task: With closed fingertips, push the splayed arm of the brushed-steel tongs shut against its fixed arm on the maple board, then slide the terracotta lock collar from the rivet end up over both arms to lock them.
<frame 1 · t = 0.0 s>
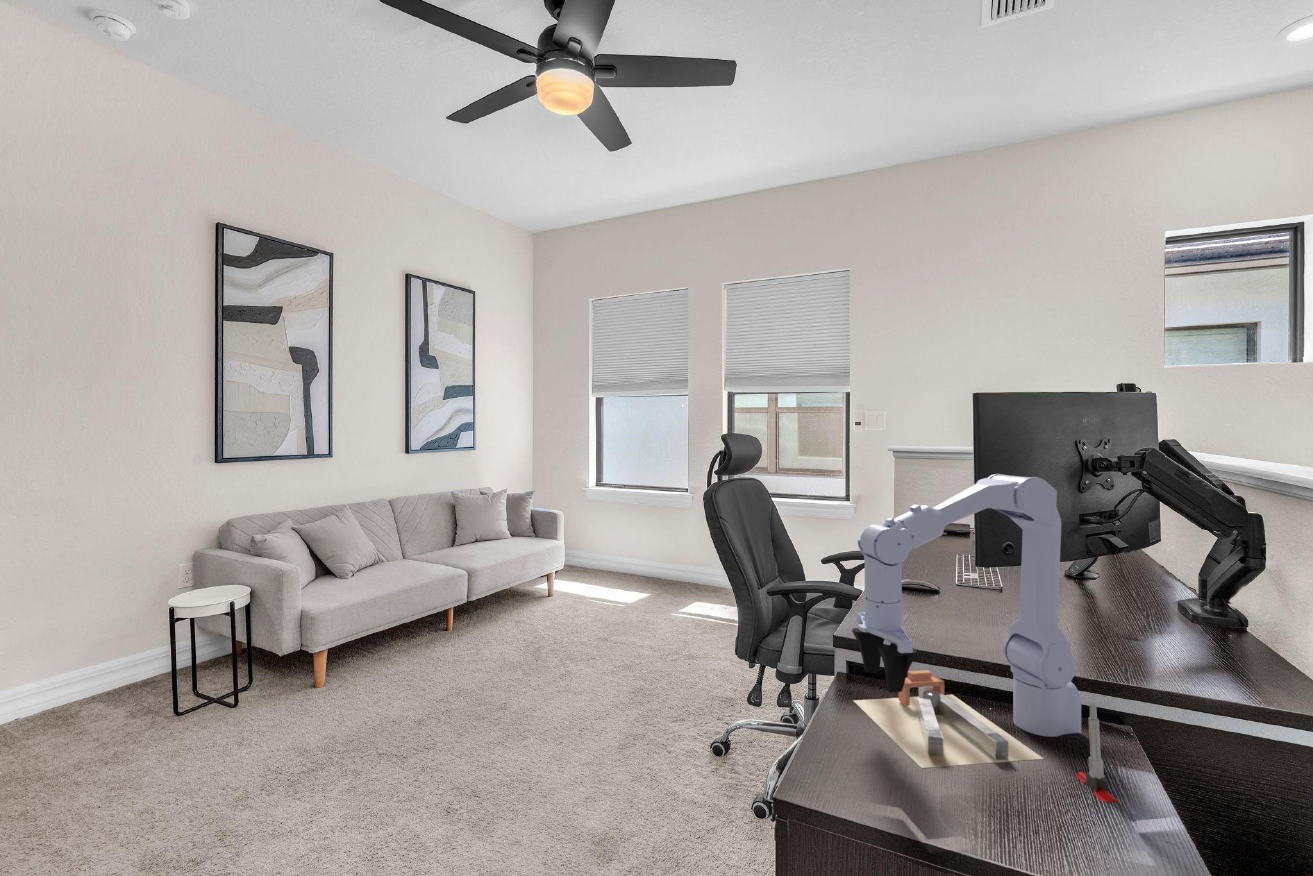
hand: (883, 681, 97), 10 cm above the table, fingers open, 7 cm apart
lock collar: (921, 687, 109), point 4 cm above the table, slide at 0.0 cm
tong base: (931, 711, 105), resting on board
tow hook: (1069, 796, 83), on the table
board: (938, 732, 100), on the table
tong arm: (929, 724, 97), point 3 cm above the table, hinge at 25.0°
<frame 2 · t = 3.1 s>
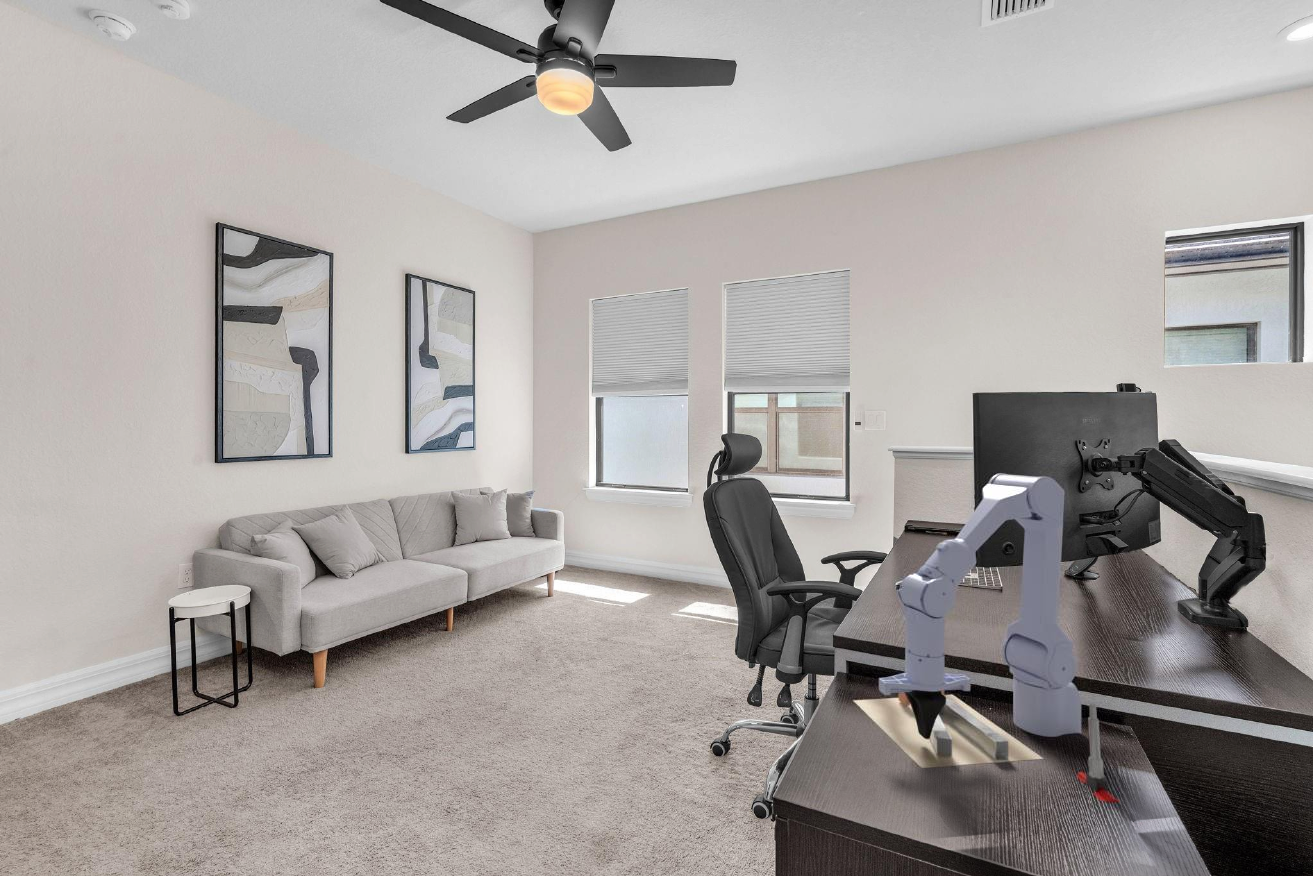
hand: (924, 736, 94), 2 cm above the table, fingers closed
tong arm: (934, 725, 97), point 3 cm above the table, hinge at 20.6°, touching gripper
everything else where it was.
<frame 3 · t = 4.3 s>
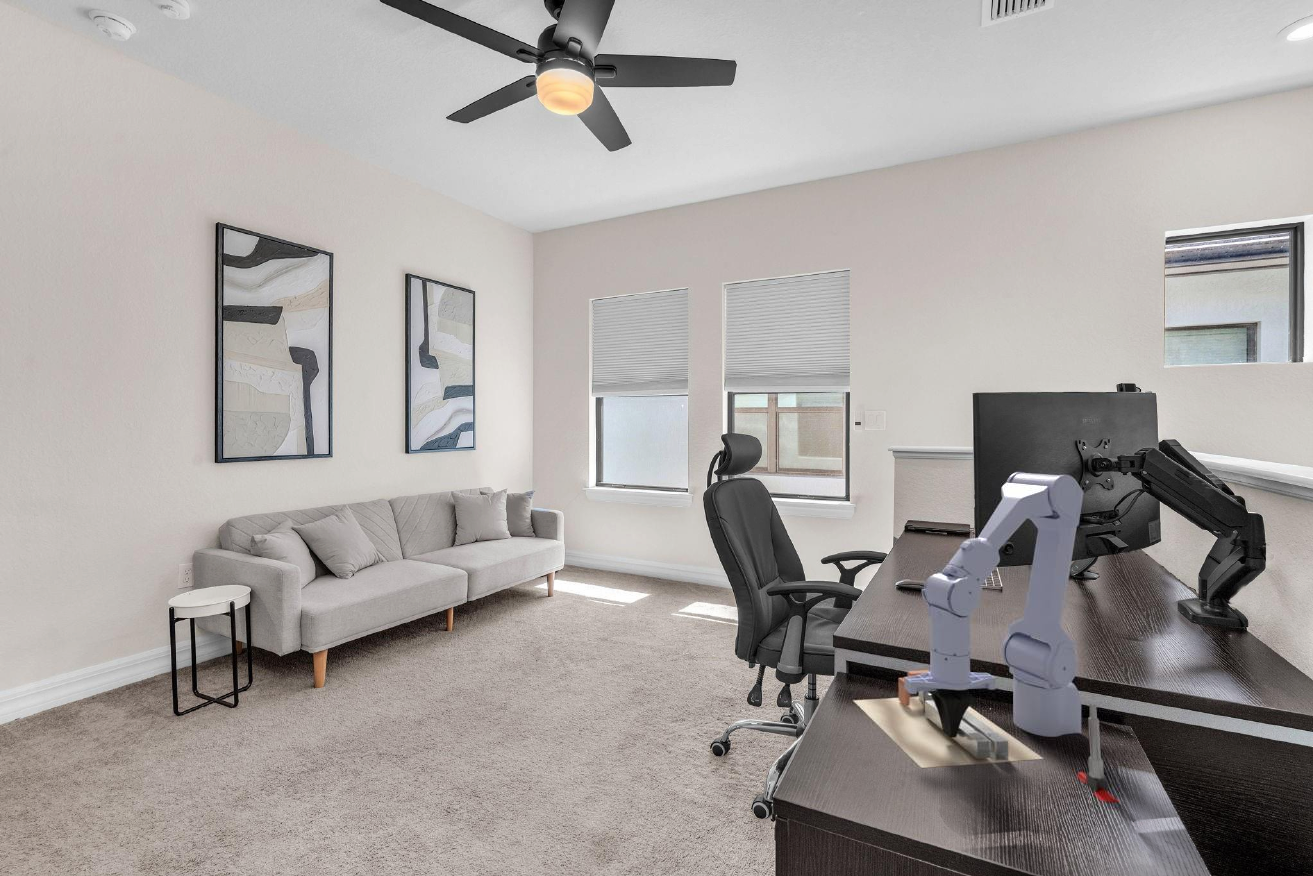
hand: (949, 734, 94), 2 cm above the table, fingers closed
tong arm: (955, 727, 96), point 3 cm above the table, hinge at 0.5°, touching gripper
everything else where it was.
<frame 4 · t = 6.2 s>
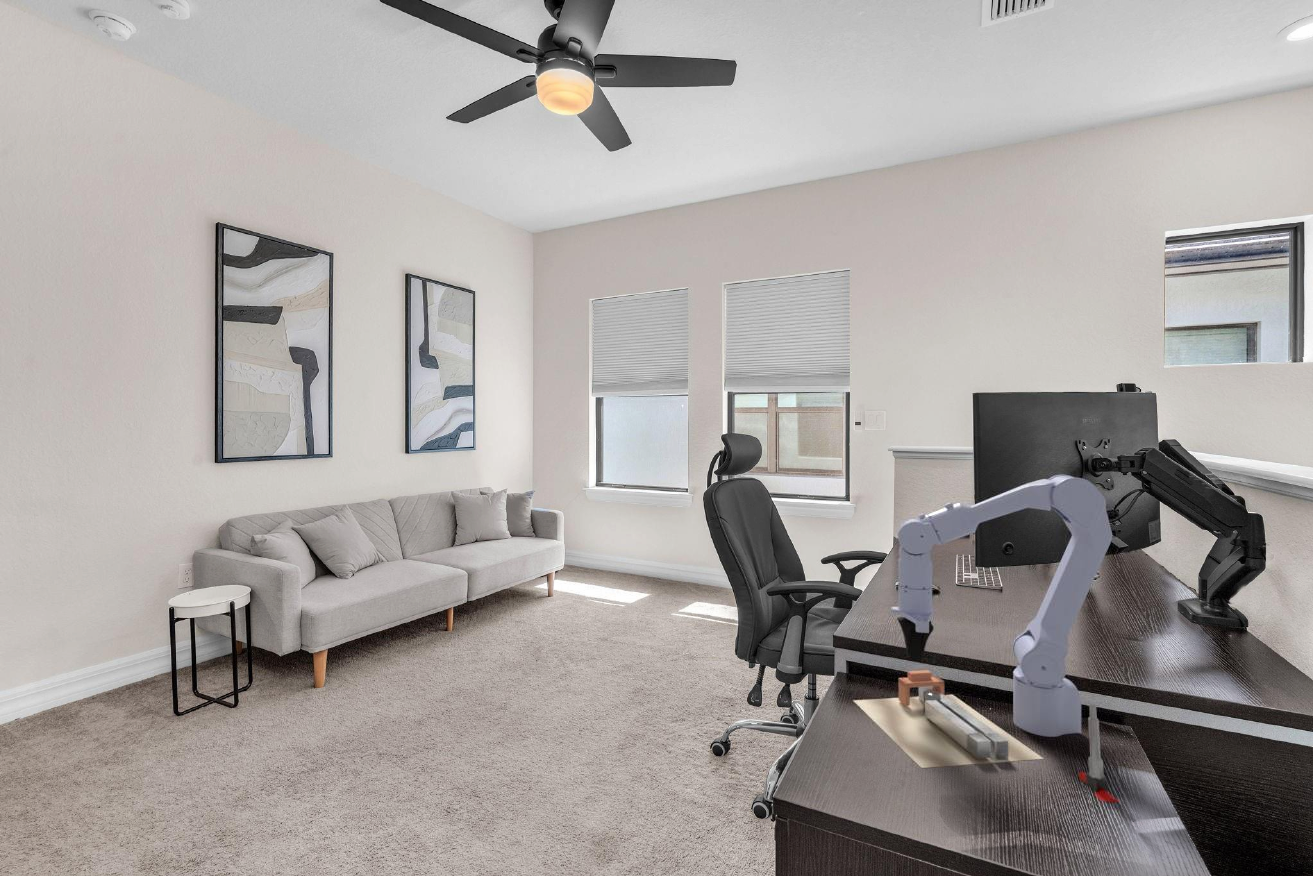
hand: (914, 659, 108), 9 cm above the table, fingers closed
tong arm: (955, 727, 96), point 3 cm above the table, hinge at 0.4°
everything else where it was.
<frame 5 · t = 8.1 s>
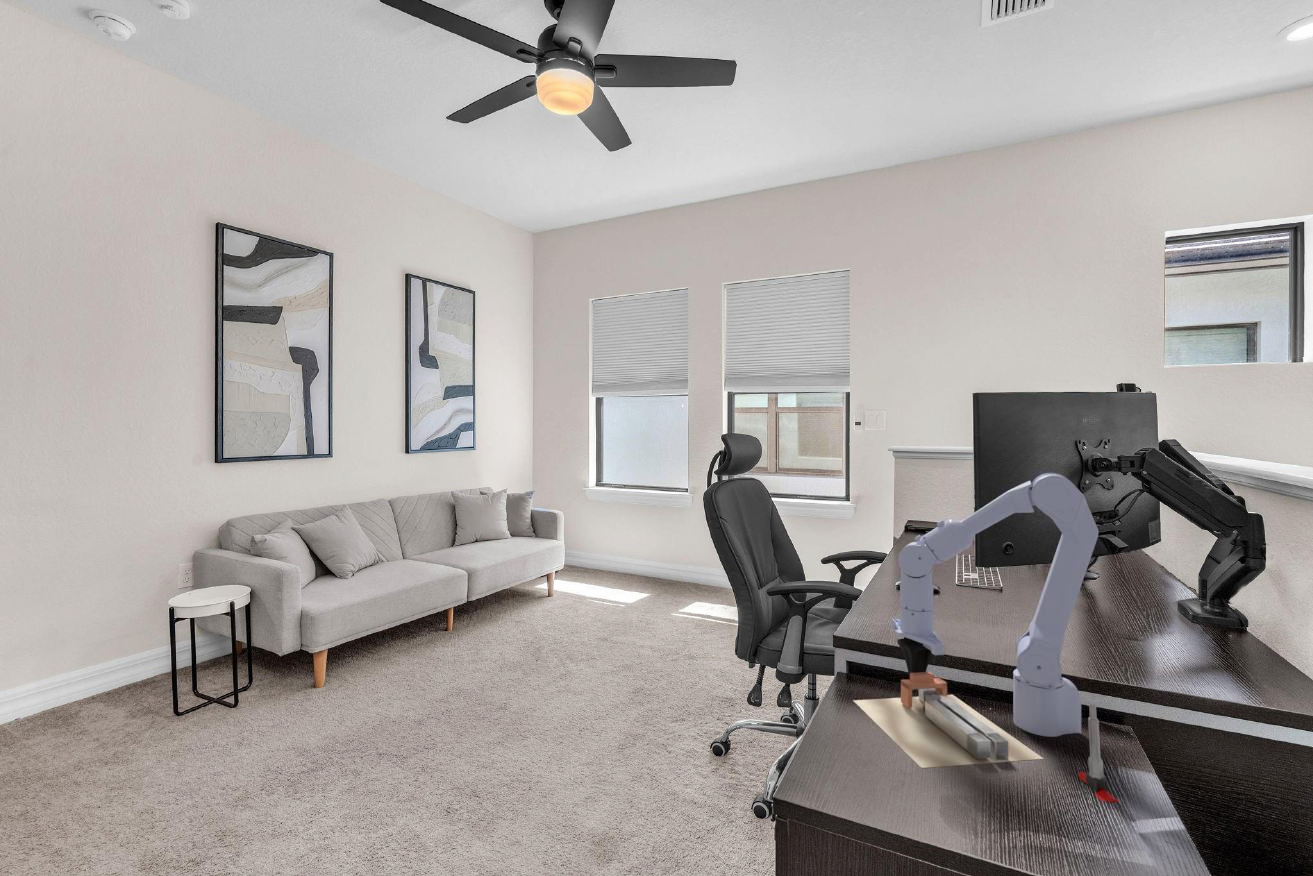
hand: (916, 679, 110), 5 cm above the table, fingers closed
lock collar: (923, 689, 108), point 4 cm above the table, slide at 0.8 cm, touching gripper
everything else where it was.
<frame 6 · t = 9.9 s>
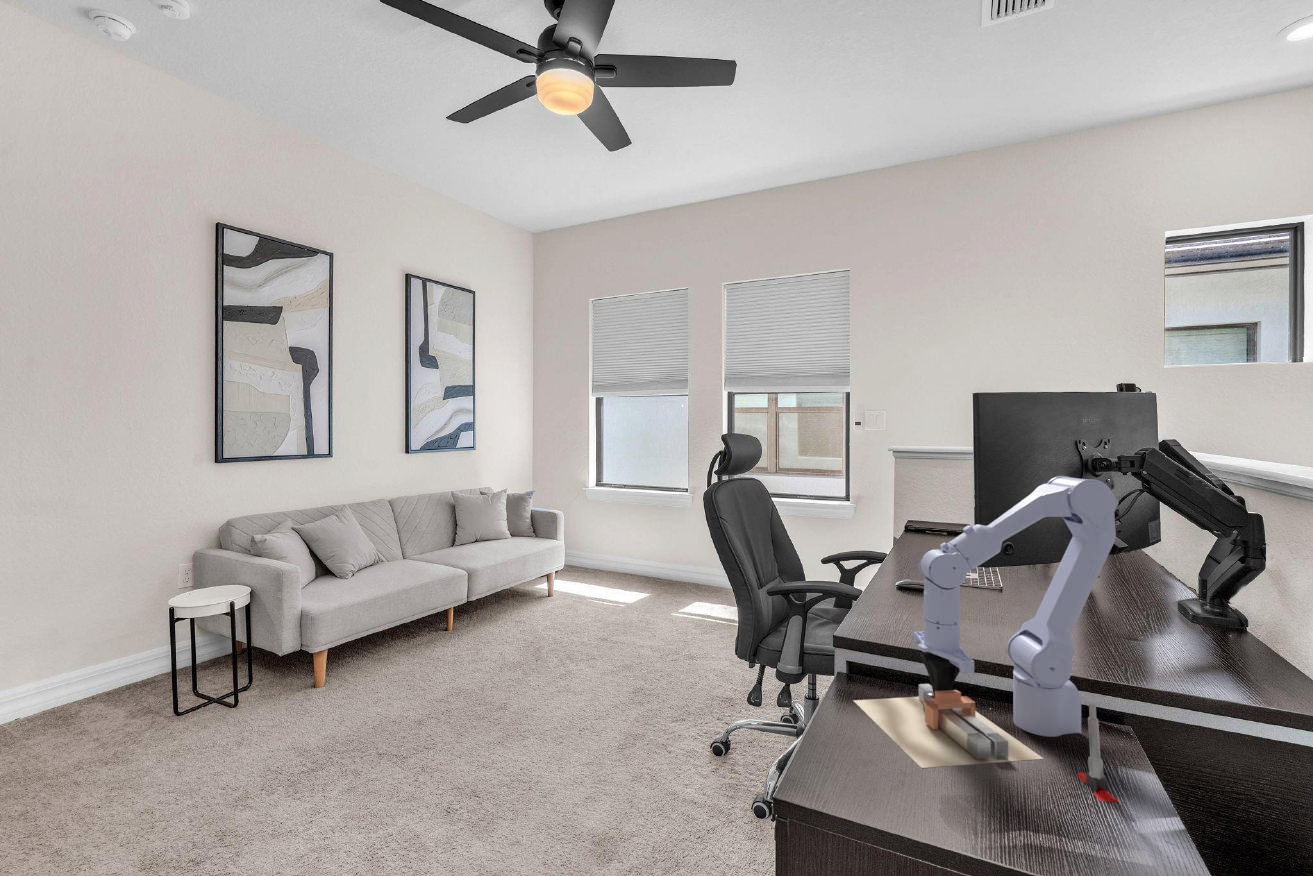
hand: (941, 697, 102), 5 cm above the table, fingers closed
lock collar: (950, 709, 100), point 4 cm above the table, slide at 8.6 cm, touching gripper
everything else where it was.
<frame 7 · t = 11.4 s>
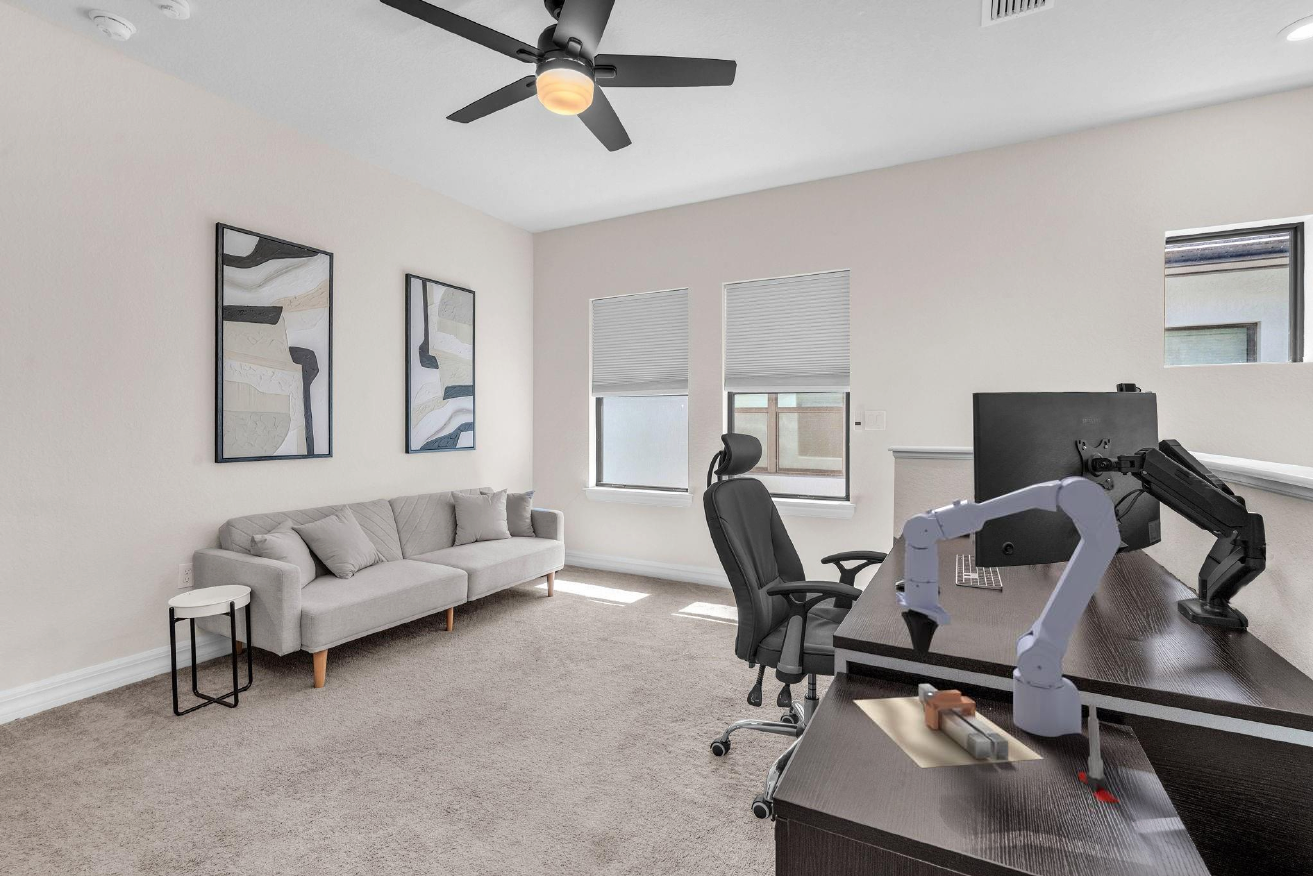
hand: (921, 652, 109), 10 cm above the table, fingers closed
lock collar: (950, 709, 100), point 4 cm above the table, slide at 8.6 cm
everything else where it was.
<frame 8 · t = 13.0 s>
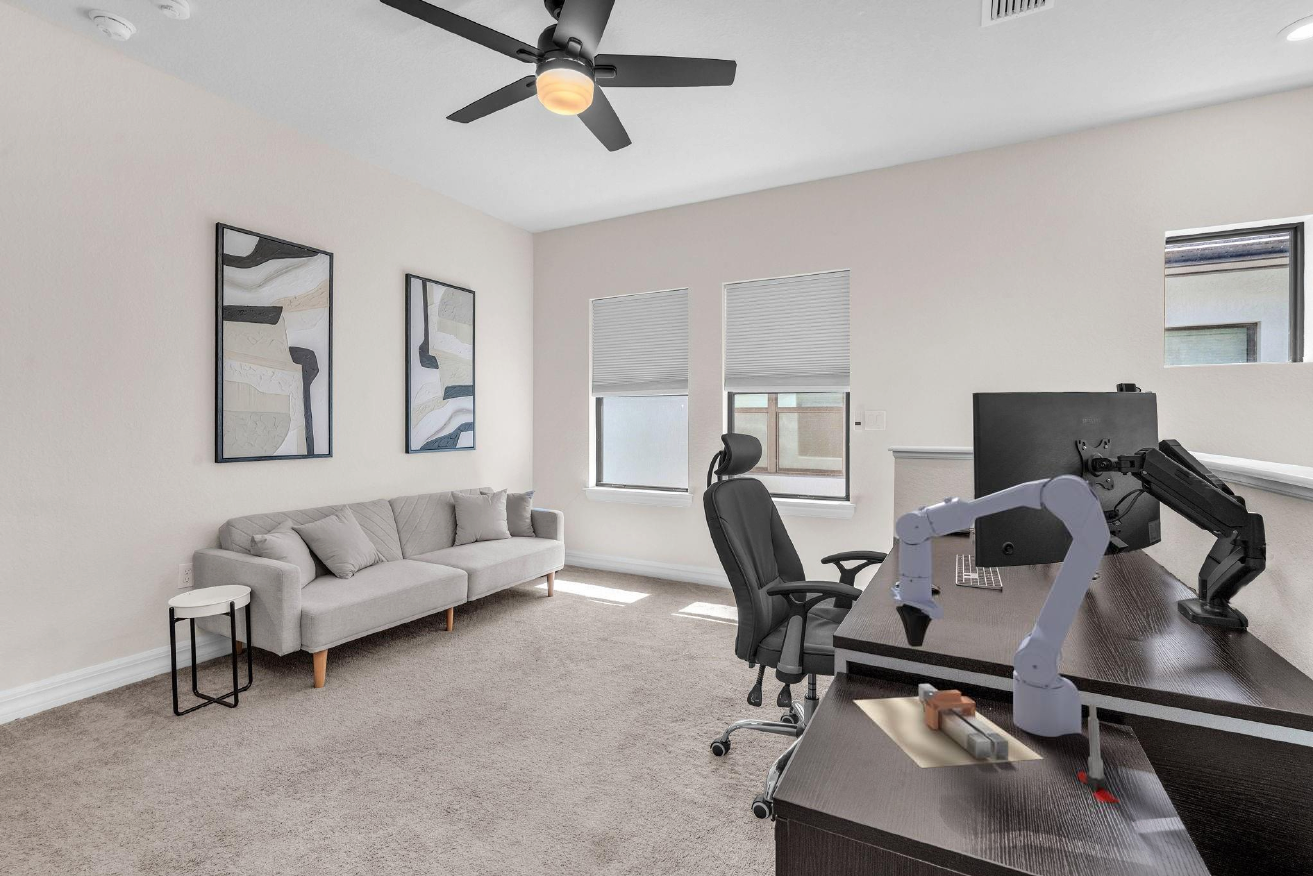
hand: (915, 645, 112), 10 cm above the table, fingers closed
nothing on the table moved.
at the end: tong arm at +0° (first picture: +25°); lock collar slide at 8.6 cm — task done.
